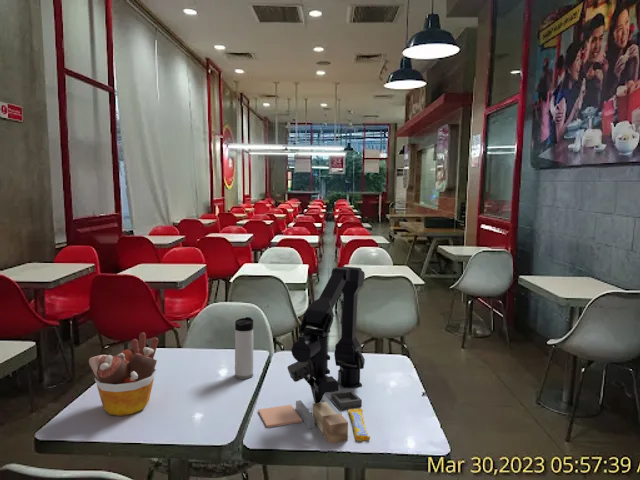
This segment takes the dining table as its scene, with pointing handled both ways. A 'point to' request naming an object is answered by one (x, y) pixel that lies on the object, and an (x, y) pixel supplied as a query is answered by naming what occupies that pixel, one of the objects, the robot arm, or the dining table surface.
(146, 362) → the bucket of meat
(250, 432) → the dining table surface
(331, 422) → the block
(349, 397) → the tray
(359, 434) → the candy bar
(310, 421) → the channel
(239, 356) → the travel mug
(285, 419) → the tile
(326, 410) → the tan wooden bar
